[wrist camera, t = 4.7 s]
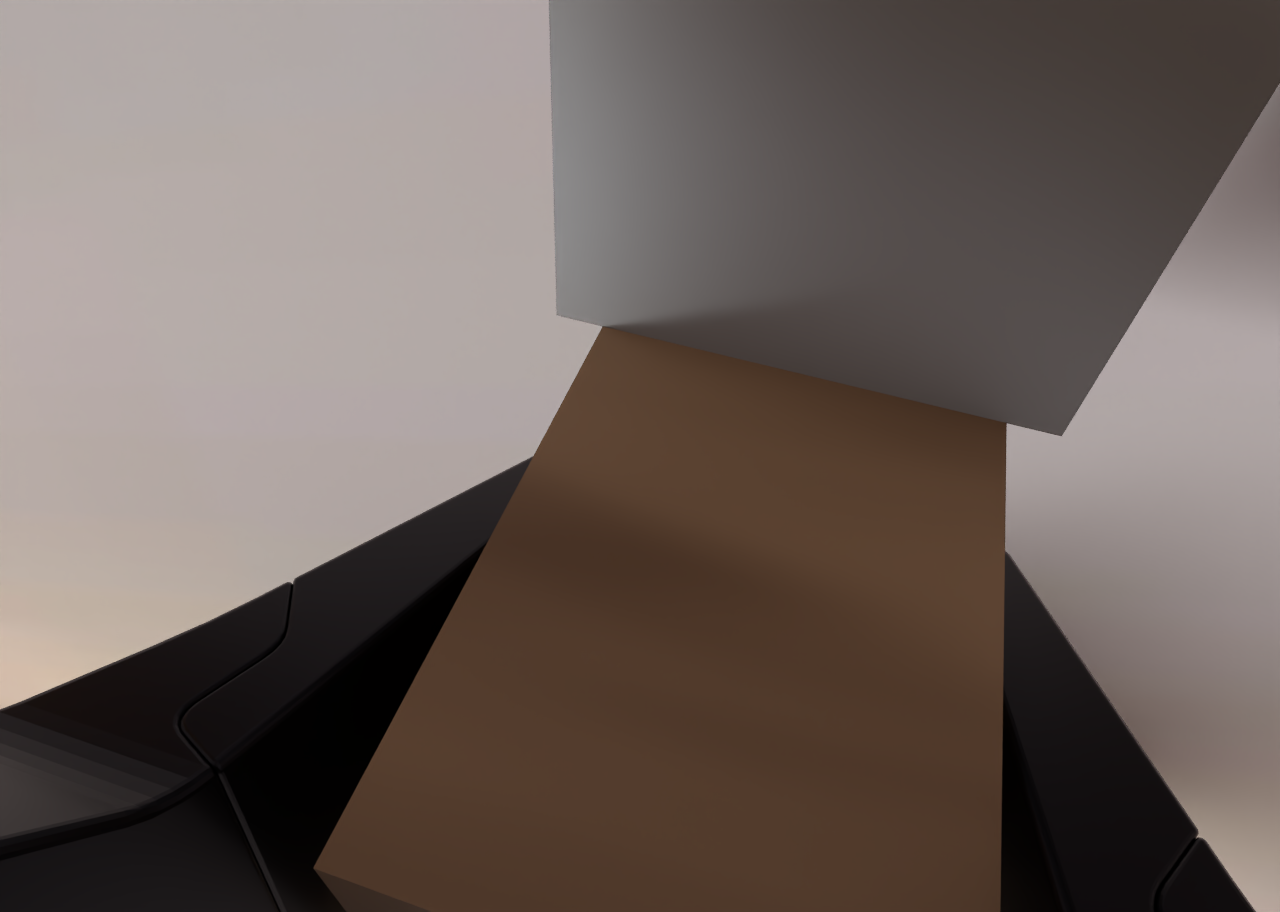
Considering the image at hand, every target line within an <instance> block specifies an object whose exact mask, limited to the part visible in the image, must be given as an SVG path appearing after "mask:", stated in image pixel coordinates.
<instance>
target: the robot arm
mask: <svg viewBox="0 0 1280 912" xmlns="http://www.w3.org/2000/svg"><path fill="white" fill-rule="evenodd" d="M532 458H533V457H531V458H529V459H527V460H525V461H523V462H521V463H519V464H517V465H515V466H513V467H511V468H509V469H507V470H505V471H503V472H502V473H500V474H498V475H496V476H494V477H492V478H490V479H488V480H486V481H484V482H482V483H480V484H478V485H476V486H474V487H472V488H470V489H468V490H466V491H464V492H463V493H461V494H459V495H457V496H455V497H453V498H451V499H449V500H447V501H445V502H443V503H441V504H439V505H437V506H435V507H433V508H431V509H429V510H427V511H425V512H424V513H422V514H420V515H418V516H416V517H414V518H412V519H410V520H408V521H406V522H404V523H402V524H400V525H398V526H396V527H394V528H392V529H390V530H388V531H386V532H385V533H383V534H381V535H379V536H377V537H375V538H373V539H371V540H369V541H367V542H365V543H363V544H361V545H359V546H357V547H355V548H353V549H351V550H349V551H347V552H346V553H344V554H342V555H340V556H338V557H336V558H334V559H332V560H330V561H328V562H326V563H324V564H322V565H320V566H318V567H316V568H314V569H312V570H310V571H308V572H307V573H305V574H303V575H301V576H299V577H297V578H295V579H294V581H293V584H292V583H290V582H287V583H285V584H283V585H281V586H279V587H277V588H275V589H273V590H271V591H269V592H267V593H265V594H263V595H261V596H259V597H257V598H255V599H253V600H251V601H249V602H247V603H245V604H243V605H241V606H239V607H237V608H235V609H233V610H231V611H229V612H227V613H224V614H222V615H220V616H218V617H216V618H214V619H212V620H210V621H208V622H206V623H204V624H201V625H199V626H197V627H195V628H192V629H190V630H188V631H185V632H183V633H181V634H179V635H176V636H174V637H172V638H170V639H167V640H165V641H163V642H161V643H158V644H156V645H154V646H152V647H149V648H147V649H144V650H142V651H140V652H137V653H135V654H133V655H130V656H128V657H125V658H123V659H121V660H118V661H116V662H114V663H111V664H109V665H107V666H104V667H102V668H99V669H97V670H95V671H92V672H90V673H88V674H85V675H83V676H80V677H78V678H76V679H73V680H71V681H69V682H66V683H64V684H62V685H59V686H57V687H54V688H52V689H50V690H47V691H45V692H43V693H40V694H38V695H35V696H33V697H31V698H28V699H26V700H24V701H21V702H19V703H16V704H13V705H11V706H8V707H6V708H3V709H0V912H346V911H345V909H344V908H343V907H342V905H341V904H340V903H339V901H338V900H337V899H336V897H335V896H334V895H333V893H332V892H331V891H330V890H329V888H328V887H327V886H326V884H325V883H324V882H323V880H322V879H321V878H320V876H319V875H318V874H317V872H316V871H315V870H314V866H315V864H316V862H317V860H318V858H319V856H320V855H321V853H322V851H323V849H324V847H325V845H326V843H327V842H328V840H329V838H330V836H331V834H332V832H333V830H334V828H335V827H336V825H337V823H338V821H339V819H340V817H341V815H342V813H343V812H344V810H345V808H346V806H347V804H348V802H349V800H350V799H351V797H352V795H353V793H354V791H355V789H356V787H357V785H358V784H359V782H360V780H361V778H362V776H363V774H364V772H365V770H366V769H367V767H368V765H369V763H370V761H371V759H372V757H373V756H374V754H375V752H376V750H377V748H378V746H379V744H380V742H381V741H382V739H383V737H384V735H385V733H386V731H387V729H388V727H389V726H390V724H391V722H392V720H393V718H394V716H395V714H396V712H397V711H398V709H399V707H400V705H401V703H402V701H403V699H404V698H405V696H406V694H407V692H408V690H409V688H410V686H411V684H412V683H413V681H414V679H415V677H416V675H417V673H418V671H419V669H420V668H421V666H422V664H423V662H424V660H425V658H426V656H427V655H428V653H429V651H430V649H431V647H432V645H433V643H434V641H435V640H436V638H437V636H438V634H439V632H440V630H441V628H442V626H443V625H444V623H445V621H446V619H447V617H448V615H449V613H450V612H451V610H452V608H453V606H454V604H455V602H456V600H457V598H458V597H459V595H460V593H461V591H462V589H463V587H464V585H465V583H466V582H467V580H468V578H469V576H470V574H471V572H472V570H473V569H474V567H475V565H476V563H477V561H478V559H479V557H480V555H481V554H482V552H483V550H484V548H485V546H486V544H487V542H488V540H489V539H490V537H491V535H492V533H493V531H494V529H495V527H496V525H497V524H498V522H499V520H500V518H501V516H502V514H503V512H504V511H505V509H506V507H507V505H508V503H509V501H510V499H511V497H512V496H513V494H514V492H515V490H516V488H517V486H518V484H519V482H520V481H521V479H522V477H523V475H524V473H525V471H526V469H527V468H528V466H529V464H530V462H531V460H532ZM1198 834H1199V832H1198V829H1197V827H1196V826H1195V825H1194V823H1193V822H1192V820H1191V819H1190V817H1189V816H1188V814H1187V813H1186V811H1185V810H1184V808H1183V807H1182V806H1181V804H1180V803H1179V801H1178V800H1177V798H1176V797H1175V795H1174V794H1173V792H1172V791H1171V790H1170V788H1169V787H1168V785H1167V784H1166V782H1165V781H1164V779H1163V778H1162V776H1161V775H1160V773H1159V772H1158V771H1157V769H1156V768H1155V766H1154V765H1153V763H1152V762H1151V760H1150V759H1149V757H1148V756H1147V754H1146V753H1145V752H1144V750H1143V749H1142V747H1141V746H1140V744H1139V743H1138V741H1137V740H1136V738H1135V737H1134V736H1133V734H1132V733H1131V731H1130V730H1129V728H1128V727H1127V725H1126V724H1125V722H1124V721H1123V719H1122V718H1121V717H1120V715H1119V714H1118V712H1117V711H1116V709H1115V708H1114V706H1113V705H1112V703H1111V702H1110V700H1109V699H1108V698H1107V696H1106V695H1105V693H1104V692H1103V690H1102V689H1101V687H1100V686H1099V684H1098V683H1097V682H1096V680H1095V679H1094V677H1093V676H1092V674H1091V673H1090V671H1089V670H1088V668H1087V667H1086V665H1085V664H1084V663H1083V661H1082V660H1081V658H1080V657H1079V655H1078V654H1077V652H1076V651H1075V649H1074V648H1073V647H1072V645H1071V644H1070V642H1069V641H1068V639H1067V638H1066V636H1065V635H1064V633H1063V632H1062V630H1061V629H1060V628H1059V626H1058V625H1057V623H1056V622H1055V620H1054V619H1053V617H1052V616H1051V614H1050V613H1049V611H1048V610H1047V609H1046V607H1045V606H1044V604H1043V603H1042V601H1041V600H1040V598H1039V597H1038V595H1037V594H1036V593H1035V591H1034V590H1033V588H1032V587H1031V585H1030V584H1029V582H1028V581H1027V579H1026V578H1025V576H1024V575H1023V574H1022V572H1021V571H1020V569H1019V568H1018V566H1017V565H1016V563H1015V562H1014V560H1013V559H1012V557H1011V556H1010V555H1009V554H1008V553H1007V552H1006V551H1005V582H1004V662H1003V741H1002V821H1001V901H1000V912H1256V911H1255V910H1254V909H1253V907H1252V906H1251V904H1250V903H1249V902H1248V900H1247V899H1246V897H1245V896H1244V895H1243V893H1242V892H1241V890H1240V889H1239V888H1238V886H1237V885H1236V884H1235V882H1234V881H1233V879H1232V878H1231V876H1230V875H1229V874H1228V872H1227V871H1226V869H1225V868H1224V866H1223V865H1222V863H1221V862H1220V860H1219V859H1218V857H1217V856H1216V855H1215V853H1214V852H1213V850H1212V849H1211V847H1210V846H1209V844H1208V843H1207V841H1206V840H1204V839H1203V838H1196V837H1197V836H1198Z"/></svg>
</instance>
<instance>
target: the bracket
mask: <svg viewBox="0 0 1280 912" xmlns="http://www.w3.org/2000/svg"><path fill="white" fill-rule="evenodd" d="M549 22H550V63H551V103H552V144H553V185H554V226H555V266H556V307H557V315H558V316H562V317H566V318H570V319H574V320H579V321H583V322H587V323H591V324H595V325H599V326H603V327H602V329H601V331H600V333H599V335H598V337H597V338H596V340H595V342H594V344H593V346H592V348H591V350H590V352H589V353H588V355H587V357H586V359H585V361H584V363H583V365H582V367H581V368H580V370H579V372H578V374H577V376H576V378H575V380H574V382H573V383H572V385H571V387H570V389H569V391H568V393H567V395H566V396H565V398H564V400H563V402H562V404H561V406H560V408H559V410H558V411H557V413H556V415H555V417H554V419H553V421H552V423H551V425H550V426H549V428H548V430H547V432H546V434H545V436H544V438H543V439H542V441H541V443H540V445H539V447H538V449H537V451H536V453H535V454H534V456H533V458H532V460H531V462H530V464H529V466H528V468H527V469H526V471H525V473H524V475H523V477H522V479H521V481H520V482H519V484H518V486H517V488H516V490H515V492H514V494H513V496H512V497H511V499H510V501H509V503H508V505H507V507H506V509H505V511H504V512H503V514H502V516H501V518H500V520H499V522H498V524H497V525H496V527H495V529H494V531H493V533H492V535H491V537H490V539H489V540H488V542H487V544H486V546H485V548H484V550H483V552H482V554H481V555H480V557H479V559H478V561H477V563H476V565H475V567H474V569H473V570H472V572H471V574H470V576H469V578H468V580H467V582H466V583H465V585H464V587H463V589H462V591H461V593H460V595H459V597H458V598H457V600H456V602H455V604H454V606H453V608H452V610H451V612H450V613H449V615H448V617H447V619H446V621H445V623H444V625H443V626H442V628H441V630H440V632H439V634H438V636H437V638H436V640H435V641H434V643H433V645H432V647H431V649H430V651H429V653H428V655H427V656H426V658H425V660H424V662H423V664H422V666H421V668H420V669H419V671H418V673H417V675H416V677H415V679H414V681H413V683H412V684H411V686H410V688H409V690H408V692H407V694H406V696H405V698H404V699H403V701H402V703H401V705H400V707H399V709H398V711H397V712H396V714H395V716H394V718H393V720H392V722H391V724H390V726H389V727H388V729H387V731H386V733H385V735H384V737H383V739H382V741H381V742H380V744H379V746H378V748H377V750H376V752H375V754H374V756H373V757H372V759H371V761H370V763H369V765H368V767H367V769H366V770H365V772H364V774H363V776H362V778H361V780H360V782H359V784H358V785H357V787H356V789H355V791H354V793H353V795H352V797H351V799H350V800H349V802H348V804H347V806H346V808H345V810H344V812H343V813H342V815H341V817H340V819H339V821H338V823H337V825H336V827H335V828H334V830H333V832H332V834H331V836H330V838H329V840H328V842H327V843H326V845H325V847H324V849H323V851H322V853H321V855H320V856H319V858H318V860H317V862H316V864H315V866H314V870H315V871H316V872H317V874H318V875H319V876H320V878H321V879H322V880H323V882H324V883H325V884H326V886H327V887H328V888H329V890H330V891H331V892H332V893H333V895H334V896H335V897H336V899H337V900H338V901H339V903H340V904H341V905H342V907H343V908H344V909H345V911H346V912H1000V901H1001V821H1002V741H1003V662H1004V582H1005V502H1006V423H1009V424H1013V425H1017V426H1021V427H1025V428H1030V429H1034V430H1038V431H1042V432H1046V433H1050V434H1055V435H1059V436H1062V435H1063V433H1064V431H1065V430H1066V428H1067V426H1068V425H1069V423H1070V422H1071V420H1072V418H1073V417H1074V415H1075V413H1076V412H1077V410H1078V409H1079V407H1080V405H1081V404H1082V402H1083V400H1084V399H1085V397H1086V396H1087V394H1088V392H1089V391H1090V389H1091V388H1092V386H1093V384H1094V383H1095V381H1096V379H1097V378H1098V376H1099V375H1100V373H1101V371H1102V370H1103V368H1104V366H1105V365H1106V363H1107V362H1108V360H1109V358H1110V357H1111V355H1112V354H1113V352H1114V350H1115V349H1116V347H1117V345H1118V344H1119V342H1120V341H1121V339H1122V337H1123V336H1124V334H1125V332H1126V331H1127V329H1128V328H1129V326H1130V324H1131V323H1132V321H1133V319H1134V318H1135V316H1136V315H1137V313H1138V311H1139V310H1140V308H1141V307H1142V305H1143V303H1144V302H1145V300H1146V298H1147V297H1148V295H1149V294H1150V292H1151V290H1152V289H1153V287H1154V285H1155V284H1156V282H1157V281H1158V279H1159V277H1160V276H1161V274H1162V272H1163V271H1164V269H1165V268H1166V266H1167V264H1168V263H1169V261H1170V260H1171V258H1172V256H1173V255H1174V253H1175V251H1176V250H1177V248H1178V247H1179V245H1180V243H1181V242H1182V240H1183V238H1184V237H1185V235H1186V234H1187V232H1188V230H1189V229H1190V227H1191V226H1192V224H1193V222H1194V221H1195V219H1196V217H1197V216H1198V214H1199V213H1200V211H1201V209H1202V208H1203V206H1204V204H1205V203H1206V201H1207V200H1208V198H1209V196H1210V195H1211V193H1212V191H1213V190H1214V188H1215V187H1216V185H1217V183H1218V182H1219V180H1220V179H1221V177H1222V175H1223V174H1224V172H1225V170H1226V169H1227V167H1228V166H1229V164H1230V162H1231V161H1232V159H1233V157H1234V156H1235V154H1236V153H1237V151H1238V149H1239V148H1240V146H1241V145H1242V143H1243V141H1244V140H1245V138H1246V136H1247V135H1248V133H1249V132H1250V130H1251V128H1252V127H1253V125H1254V123H1255V122H1256V120H1257V119H1258V117H1259V115H1260V114H1261V112H1262V110H1263V109H1264V107H1265V106H1266V104H1267V102H1268V101H1269V99H1270V98H1271V96H1272V94H1273V93H1274V91H1275V89H1276V88H1277V86H1278V85H1279V83H1280V0H549Z"/></svg>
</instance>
